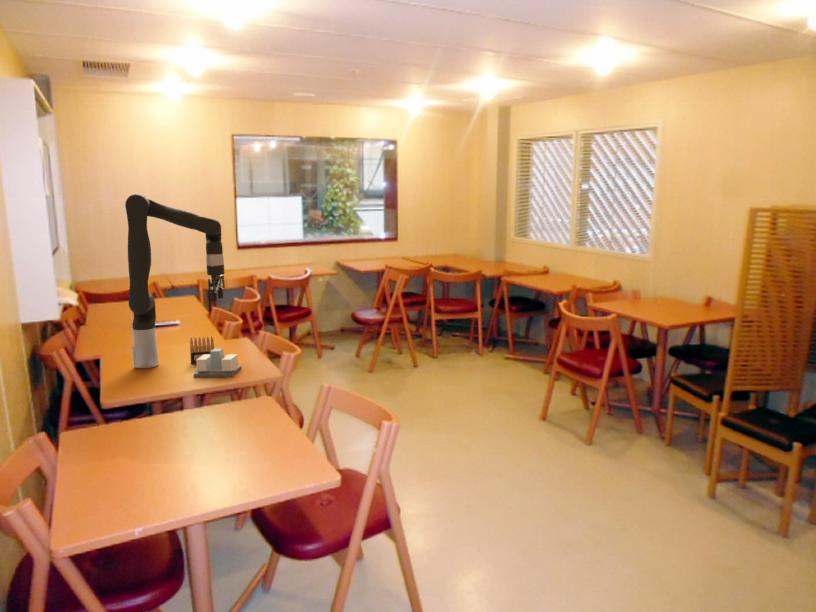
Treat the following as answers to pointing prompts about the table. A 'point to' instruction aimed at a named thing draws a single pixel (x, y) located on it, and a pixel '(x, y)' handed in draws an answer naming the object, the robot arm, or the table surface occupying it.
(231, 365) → the mounted modules
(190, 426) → the table surface
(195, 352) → the ammunition clip
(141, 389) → the table surface
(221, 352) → the module block
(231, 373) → the mounting plate
